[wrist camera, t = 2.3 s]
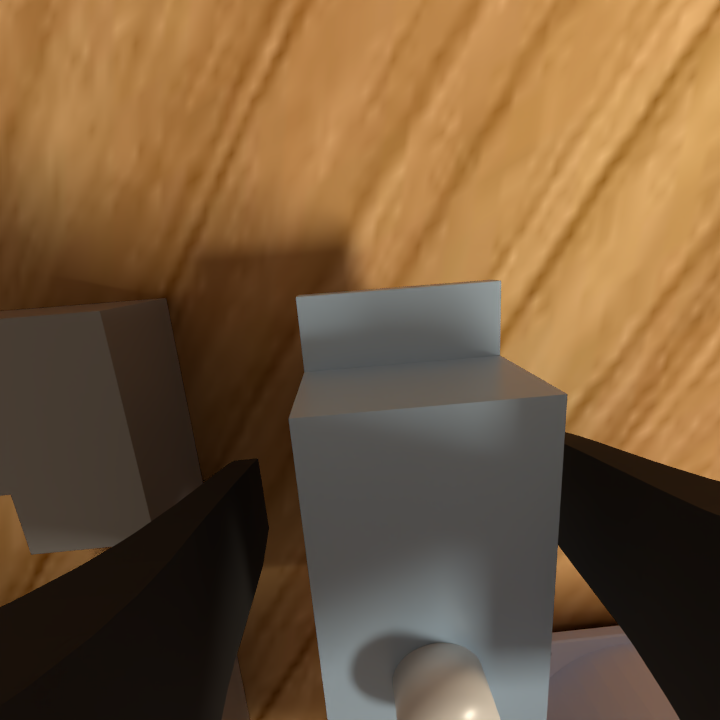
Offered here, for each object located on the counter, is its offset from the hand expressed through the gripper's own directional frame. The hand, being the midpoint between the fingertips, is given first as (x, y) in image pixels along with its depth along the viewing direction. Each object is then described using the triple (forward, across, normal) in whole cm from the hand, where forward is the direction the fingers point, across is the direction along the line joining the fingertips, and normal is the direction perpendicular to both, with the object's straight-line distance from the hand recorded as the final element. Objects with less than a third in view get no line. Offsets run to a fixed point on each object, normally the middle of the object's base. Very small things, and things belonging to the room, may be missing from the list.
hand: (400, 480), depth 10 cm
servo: (+2, 0, 0) cm, 2 cm away
